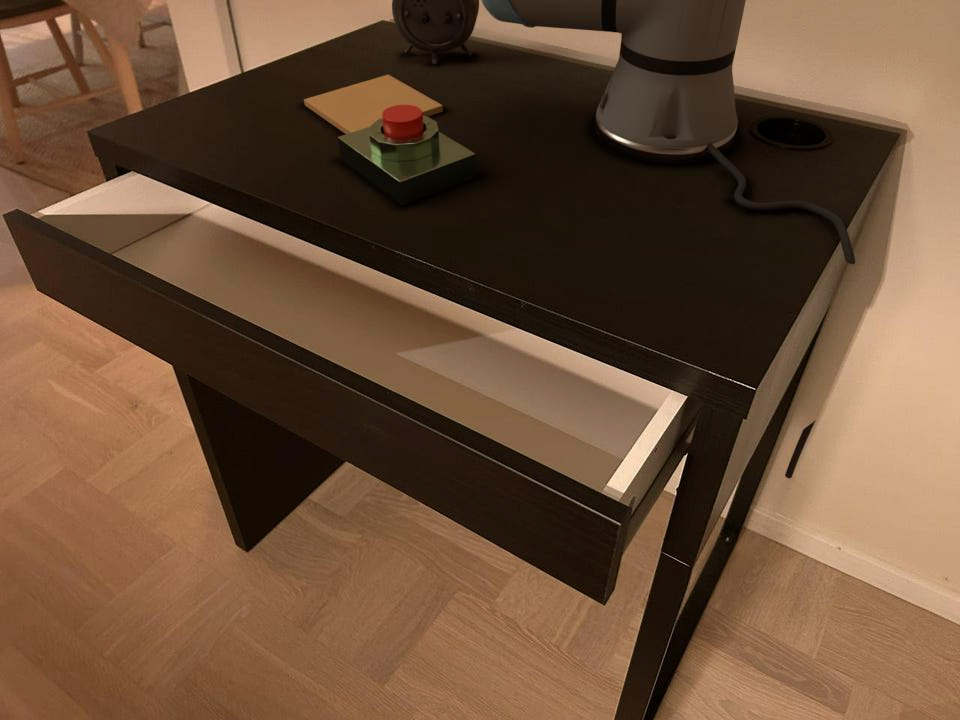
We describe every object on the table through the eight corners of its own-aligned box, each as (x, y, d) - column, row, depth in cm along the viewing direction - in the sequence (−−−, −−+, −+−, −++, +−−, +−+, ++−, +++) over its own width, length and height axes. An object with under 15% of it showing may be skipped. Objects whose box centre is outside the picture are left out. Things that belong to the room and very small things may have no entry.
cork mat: (443, 111, 88) (442, 105, 88) (355, 141, 83) (354, 134, 82) (389, 80, 95) (388, 74, 95) (304, 105, 90) (303, 99, 90)
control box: (476, 177, 76) (475, 136, 73) (402, 206, 73) (398, 164, 69) (411, 136, 84) (408, 97, 81) (341, 160, 80) (334, 120, 77)
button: (431, 133, 75) (430, 114, 74) (397, 145, 73) (396, 125, 72) (409, 120, 77) (408, 100, 76) (376, 131, 76) (374, 111, 74)
